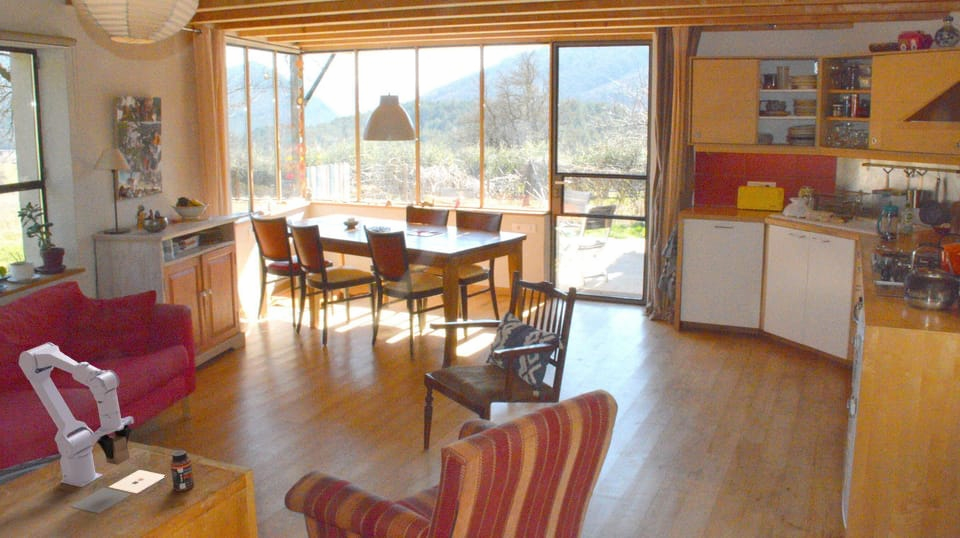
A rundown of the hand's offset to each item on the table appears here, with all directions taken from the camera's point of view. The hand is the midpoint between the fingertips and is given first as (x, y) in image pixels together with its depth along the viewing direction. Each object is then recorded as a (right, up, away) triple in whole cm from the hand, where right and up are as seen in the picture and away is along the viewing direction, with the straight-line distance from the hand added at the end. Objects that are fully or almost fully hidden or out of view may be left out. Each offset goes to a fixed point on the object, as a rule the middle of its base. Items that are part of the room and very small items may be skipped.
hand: (116, 454), depth 266 cm
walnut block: (0, -2, 0) cm, 2 cm away
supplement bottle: (+21, -10, -1) cm, 23 cm away
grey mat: (-2, -12, -6) cm, 14 cm away
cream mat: (+5, -9, +5) cm, 11 cm away
